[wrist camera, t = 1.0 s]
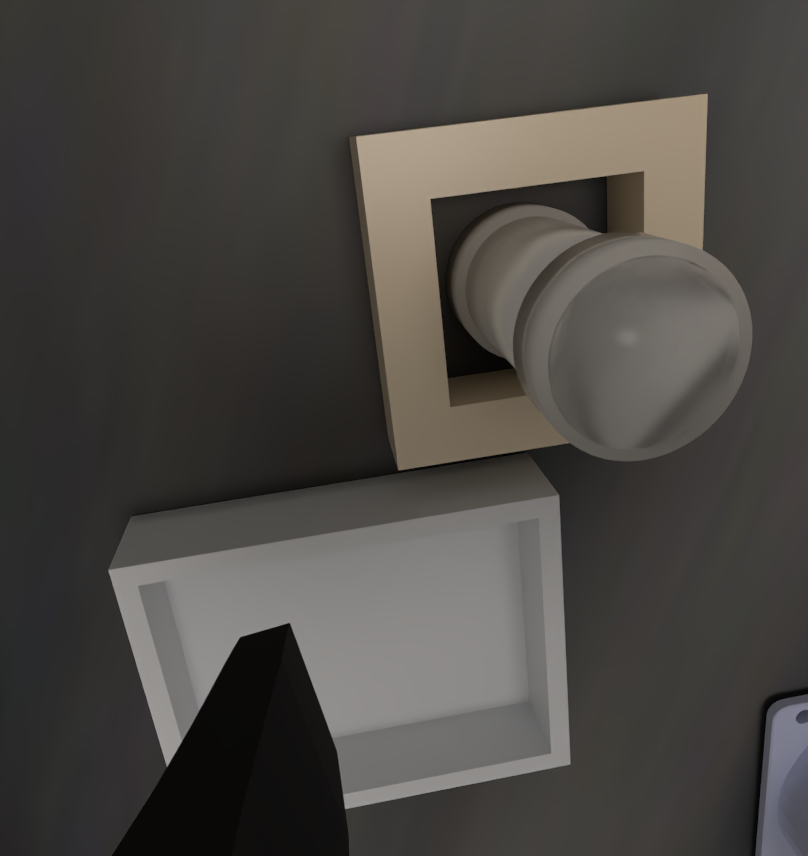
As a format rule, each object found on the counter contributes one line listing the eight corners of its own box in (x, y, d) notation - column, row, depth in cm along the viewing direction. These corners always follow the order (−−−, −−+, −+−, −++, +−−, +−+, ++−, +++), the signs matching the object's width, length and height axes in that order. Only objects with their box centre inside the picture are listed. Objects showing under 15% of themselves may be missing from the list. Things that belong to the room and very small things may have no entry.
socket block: (662, 98, 17) (707, 93, 15) (658, 395, 19) (697, 422, 18) (348, 136, 16) (355, 136, 14) (388, 438, 19) (398, 470, 17)
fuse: (585, 193, 17) (759, 225, 11) (588, 337, 19) (746, 443, 12) (439, 212, 17) (528, 258, 11) (453, 357, 18) (540, 477, 12)
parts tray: (527, 452, 20) (559, 494, 17) (541, 699, 22) (570, 764, 20) (131, 516, 19) (108, 569, 16) (200, 764, 22) (189, 840, 19)
